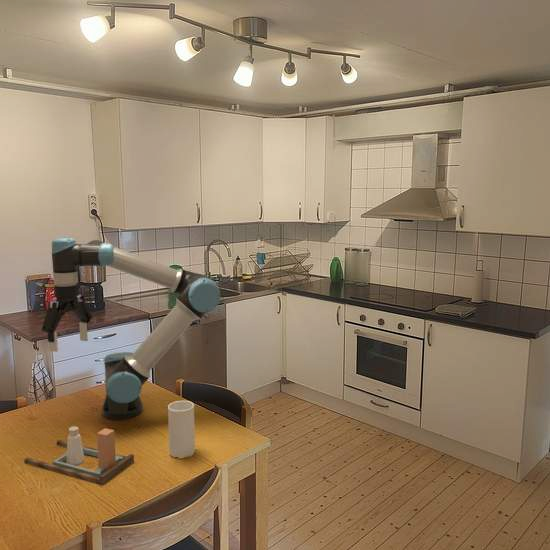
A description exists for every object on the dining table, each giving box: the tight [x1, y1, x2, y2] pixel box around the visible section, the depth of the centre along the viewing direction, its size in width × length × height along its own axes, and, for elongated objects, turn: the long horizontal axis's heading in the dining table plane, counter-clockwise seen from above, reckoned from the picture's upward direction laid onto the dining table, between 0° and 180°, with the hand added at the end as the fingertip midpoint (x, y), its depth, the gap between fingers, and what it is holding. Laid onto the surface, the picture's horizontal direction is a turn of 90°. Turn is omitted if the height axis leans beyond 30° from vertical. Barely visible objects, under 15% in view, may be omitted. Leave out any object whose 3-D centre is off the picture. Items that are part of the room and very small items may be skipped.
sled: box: [52, 428, 123, 477], centre depth 156 cm, size 18×11×12 cm, turn 67°
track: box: [24, 439, 135, 486], centre depth 158 cm, size 31×14×2 cm, turn 67°
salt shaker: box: [65, 426, 85, 466], centre depth 159 cm, size 5×5×11 cm
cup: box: [167, 400, 196, 458], centre depth 164 cm, size 8×8×16 cm
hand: (69, 345), depth 174 cm, fingers open, 13 cm apart
